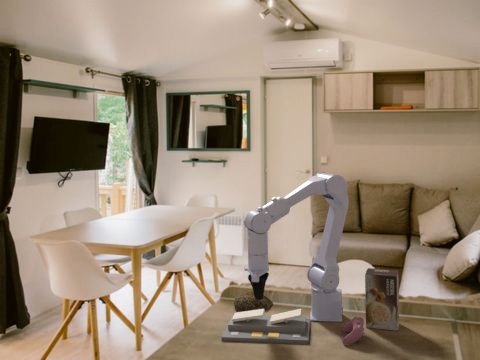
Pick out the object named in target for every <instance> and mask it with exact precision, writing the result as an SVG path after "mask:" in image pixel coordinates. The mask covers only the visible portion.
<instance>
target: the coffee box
mask: <svg viewBox="0 0 480 360" xmlns="http://www.w3.org/2000/svg"><path fill="white" fill-rule="evenodd" d="M399 277H400V276H399V270H397V269H395V270H394V269H381V268H373V267H372V268H369V267H368V268H367V269H366V271H365V274H364V282H365V284H364V285H365V286H364V287H365V290H364V292H365V293H364V294H365V295H364V296H365V297H364V298H365V328H369V329H379V330H380V329H381V330H385V331H386V330H387V331H388V330H390V331H399V327H400V303H399V302H400V301H399V300H400V298H399V297H400V296H399V295H400V294H399V291H400V290H399V287H400V286H399V285H400V284H399V283H400V282H399V281H400V280H399Z"/></svg>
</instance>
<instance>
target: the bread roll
mask: <svg viewBox="0 0 480 360" xmlns="http://www.w3.org/2000/svg"><path fill="white" fill-rule="evenodd" d="M273 304H274V302H273V301H272V300H271V299H270V298H269V297H268V296H265V294H264V295H263V299H255V296H254V292H253V291H249V292H242V293H240V294H238V295H237V296H236V297H235V298H234V301H233V307H234V309H235V311H238V312H244V311H251V310H258V309H264V310H265V311H266V310H268V309H270V307H271V306H272V305H273Z"/></svg>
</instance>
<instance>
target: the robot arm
mask: <svg viewBox="0 0 480 360" xmlns="http://www.w3.org/2000/svg"><path fill="white" fill-rule="evenodd" d="M348 187H349V183H348V182H347V181H346V179H345V178H344V176H342V175H340V174H331V173H326V172H321V171H320V172H318V173H316V174H315V175H313V176H311V177H309V178H308V179H307V181H305V182H304V183H303V184H301V185H300V186H298V187H297V188H295V189H294V190H293V191H291V192H290V193H288V194H287V195H286V196H284V197H281V196H277V197H276V196H273V197H272V198H271V199H270V201H269V202H268V203H266V204H264V205H263V206H258V207H257V210H251V211H249V212H248V213H247V214H246V216H245V218H244V220H243V225H244V228H246V230H247V261H248V263H247V265H248V266H244V272H248V273H249V274H248V275H247V279H248V282H249V283H250V285H251V287H252V290H253V291H252V292H254V296H255V299H263V295H264V296H265V288H266V287H265V286H266V282H267V280H268V278H269V275H270V274H269V271H270V268H269V249H268V247H269V246H268V243H269V242H268V232H269V230H270V229H271V226H272V225H273V224H274V223H276V222H277V221H279V220H281V219H282V218H283V217H285V216H287V215H289V214H290V211H291V208H292V207H293V206H295V205H297V204H299V203H300V202H302V201H304V200H305V199H307V198H309V197H311V196H314V195H321V196H322V197H323V198H324V199H325V201H326V202H327V204H328V205H329V208H328V212H327V216H326V220H325V224H324V228H323V233H322V238H321V242H320V247H319V250H318V255H316V256H315V257H314V258H313V259H312V262H311V265H310V267H308V269H307V271H306V272H307V273H306V277H307V281H309V282H310V289H311V292H310V293H311V294H310V295H311V296H310V297H311V298H310V299H311V304H310V305H311V310H310V311H309V312H310V314H309V315H310V316H309V319H310V322H334V323H337V322H338V323H341V322H343V314H344V307H343V293H342V289H341V288H338V287H339V284H340V275H339V274H340V267H339V264H338V261H337V257H338V252H339V248H340V244H341V239H342V235H343V231H344V226H345V223H346V217H347V214H348V210H349V207H350V206H349V205H350V200H349V194H348Z"/></svg>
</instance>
